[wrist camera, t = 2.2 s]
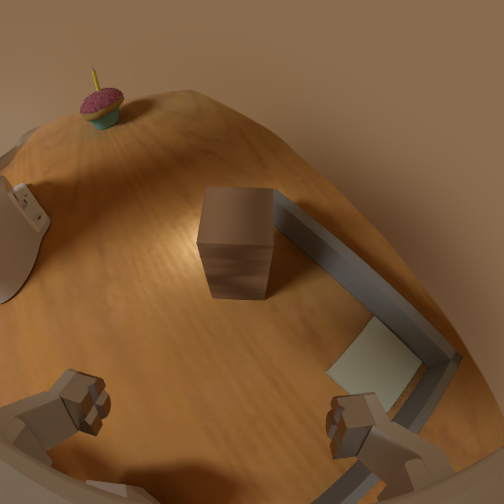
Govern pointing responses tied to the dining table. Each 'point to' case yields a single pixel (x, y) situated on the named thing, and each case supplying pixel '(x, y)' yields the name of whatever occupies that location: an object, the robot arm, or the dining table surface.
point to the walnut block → (237, 241)
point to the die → (125, 491)
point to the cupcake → (102, 106)
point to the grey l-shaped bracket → (373, 341)
